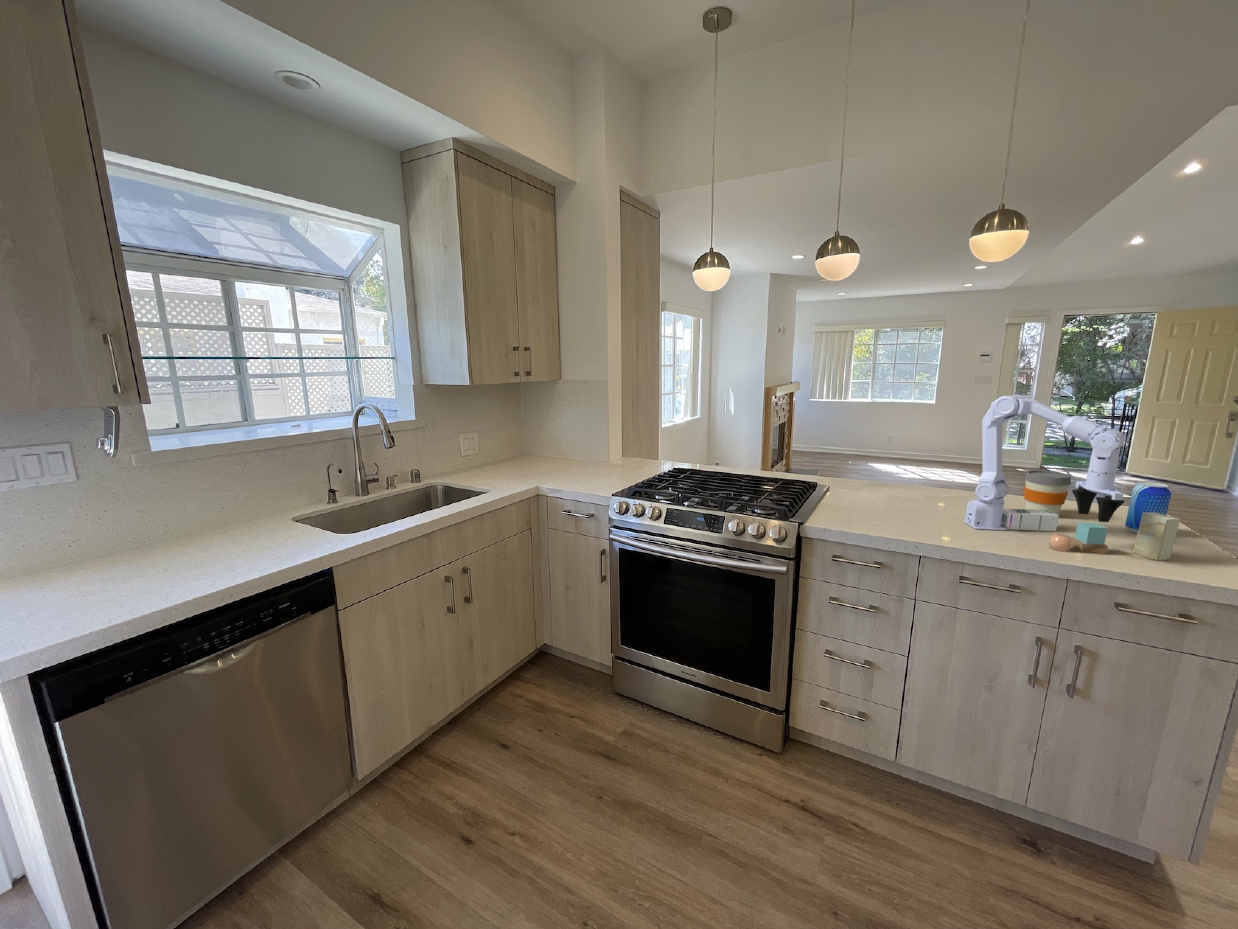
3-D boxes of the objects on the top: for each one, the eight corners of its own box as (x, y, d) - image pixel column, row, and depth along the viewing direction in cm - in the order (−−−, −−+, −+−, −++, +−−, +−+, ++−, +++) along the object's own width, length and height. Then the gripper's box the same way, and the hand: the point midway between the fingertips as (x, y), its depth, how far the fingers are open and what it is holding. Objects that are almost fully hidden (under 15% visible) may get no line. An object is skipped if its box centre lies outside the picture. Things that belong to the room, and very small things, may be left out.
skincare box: (1131, 552, 141) (1140, 512, 139) (1145, 551, 142) (1154, 511, 139) (1157, 561, 135) (1166, 519, 133) (1171, 560, 136) (1181, 518, 133)
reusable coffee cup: (1065, 521, 169) (1072, 479, 166) (1018, 514, 177) (1025, 474, 174) (1064, 513, 178) (1071, 473, 175) (1020, 507, 186) (1026, 468, 183)
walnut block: (1080, 553, 142) (1082, 543, 141) (1068, 546, 147) (1070, 537, 147) (1106, 555, 140) (1108, 545, 140) (1092, 548, 146) (1094, 538, 145)
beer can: (1150, 529, 161) (1161, 482, 157) (1169, 537, 153) (1180, 488, 150) (1118, 526, 163) (1127, 480, 160) (1134, 534, 156) (1144, 486, 152)
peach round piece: (1056, 551, 143) (1058, 538, 142) (1045, 546, 147) (1047, 533, 146) (1073, 552, 142) (1075, 539, 141) (1061, 546, 146) (1063, 534, 146)
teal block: (1104, 544, 140) (1107, 528, 139) (1086, 543, 141) (1089, 527, 140) (1092, 539, 145) (1095, 523, 144) (1075, 538, 145) (1078, 522, 144)
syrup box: (1059, 514, 158) (1008, 512, 161) (1056, 532, 159) (1006, 529, 162) (1047, 510, 163) (999, 507, 166) (1044, 526, 165) (996, 524, 167)
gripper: (1140, 478, 131) (1129, 526, 134) (1098, 467, 145) (1089, 511, 148) (1109, 477, 133) (1100, 525, 135) (1071, 466, 147) (1063, 510, 149)
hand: (1092, 517), depth 142 cm, fingers open, 7 cm apart
